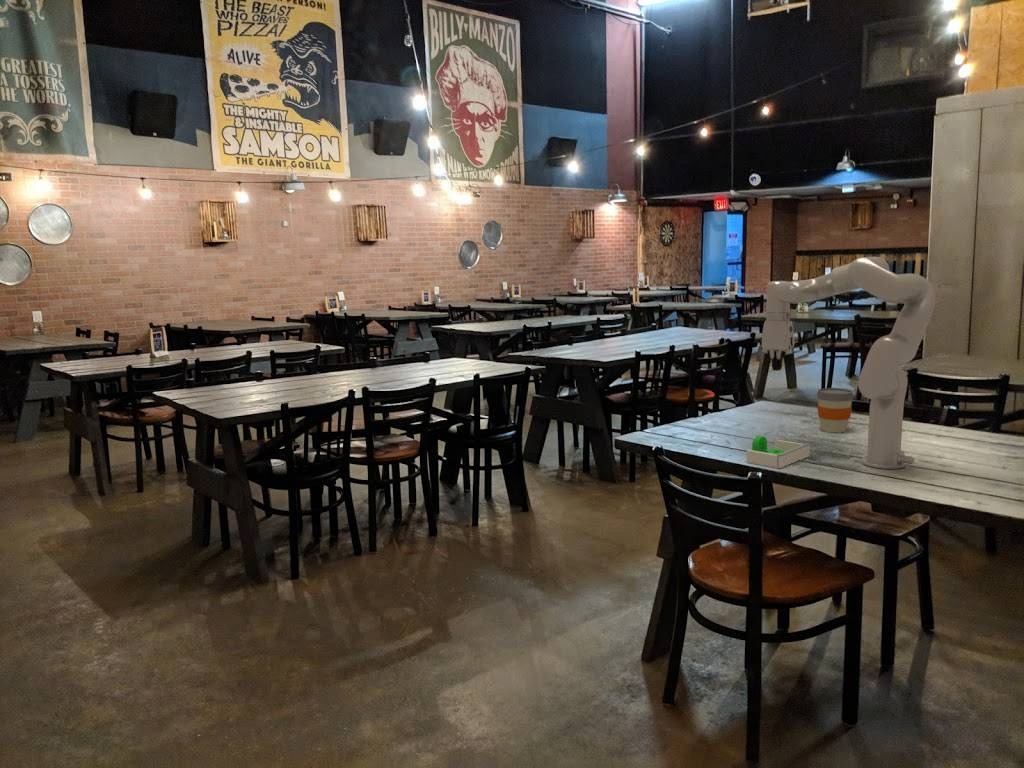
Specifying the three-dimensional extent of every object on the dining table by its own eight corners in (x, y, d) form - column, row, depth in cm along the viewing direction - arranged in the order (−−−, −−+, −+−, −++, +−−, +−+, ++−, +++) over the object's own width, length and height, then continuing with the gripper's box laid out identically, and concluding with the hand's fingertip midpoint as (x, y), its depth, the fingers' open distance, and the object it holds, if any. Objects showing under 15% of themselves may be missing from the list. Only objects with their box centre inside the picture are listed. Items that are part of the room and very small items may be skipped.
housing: (809, 456, 260) (809, 443, 259) (780, 468, 247) (780, 455, 246) (776, 450, 269) (776, 438, 268) (746, 462, 255) (746, 449, 255)
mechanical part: (768, 464, 253) (768, 440, 252) (751, 461, 258) (752, 437, 256) (788, 457, 261) (789, 434, 259) (772, 454, 265) (773, 431, 264)
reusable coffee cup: (857, 433, 289) (859, 393, 287) (822, 434, 290) (824, 394, 287) (843, 426, 302) (845, 387, 299) (810, 426, 302) (812, 388, 300)
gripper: (803, 317, 268) (802, 370, 271) (762, 315, 278) (762, 367, 281) (793, 318, 263) (792, 373, 266) (752, 317, 273) (751, 369, 276)
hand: (776, 369), depth 274 cm, fingers closed
